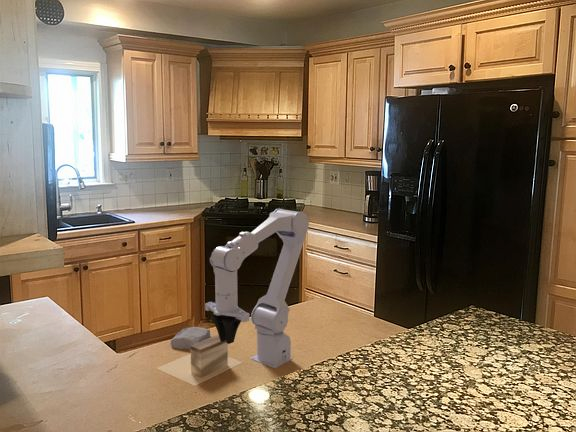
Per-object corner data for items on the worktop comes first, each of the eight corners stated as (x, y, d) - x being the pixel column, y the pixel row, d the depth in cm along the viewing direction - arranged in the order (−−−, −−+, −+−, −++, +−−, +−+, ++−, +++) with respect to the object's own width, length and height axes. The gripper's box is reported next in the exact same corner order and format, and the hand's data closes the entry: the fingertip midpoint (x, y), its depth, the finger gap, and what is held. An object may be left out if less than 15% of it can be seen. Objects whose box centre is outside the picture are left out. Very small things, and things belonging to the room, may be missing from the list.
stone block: (169, 355, 162) (199, 351, 160) (166, 340, 162) (196, 336, 160) (184, 341, 174) (213, 338, 172) (181, 327, 173) (210, 323, 171)
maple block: (227, 365, 150) (227, 338, 149) (201, 378, 143) (200, 349, 141) (217, 361, 153) (217, 334, 151) (191, 373, 145) (190, 345, 144)
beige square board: (242, 363, 152) (242, 362, 152) (194, 387, 138) (194, 385, 138) (204, 348, 162) (204, 347, 162) (156, 369, 148) (156, 368, 148)
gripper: (196, 290, 141) (197, 339, 143) (235, 301, 132) (236, 353, 134) (215, 284, 146) (216, 331, 149) (254, 294, 137) (255, 344, 140)
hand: (227, 341), depth 142 cm, fingers closed
